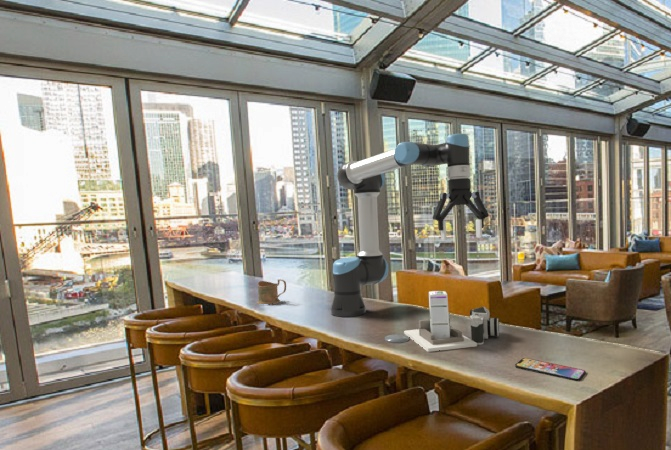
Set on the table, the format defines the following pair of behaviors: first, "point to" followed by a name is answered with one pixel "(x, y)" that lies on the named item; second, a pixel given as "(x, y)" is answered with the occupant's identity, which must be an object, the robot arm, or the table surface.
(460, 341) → the bracket board
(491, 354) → the table surface
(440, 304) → the syrup box
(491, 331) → the camera
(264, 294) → the mug
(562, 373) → the smartphone
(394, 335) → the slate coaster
